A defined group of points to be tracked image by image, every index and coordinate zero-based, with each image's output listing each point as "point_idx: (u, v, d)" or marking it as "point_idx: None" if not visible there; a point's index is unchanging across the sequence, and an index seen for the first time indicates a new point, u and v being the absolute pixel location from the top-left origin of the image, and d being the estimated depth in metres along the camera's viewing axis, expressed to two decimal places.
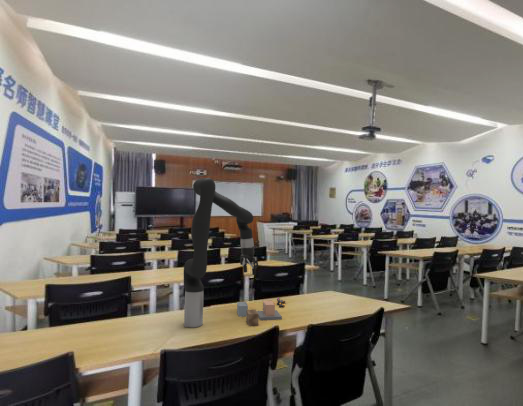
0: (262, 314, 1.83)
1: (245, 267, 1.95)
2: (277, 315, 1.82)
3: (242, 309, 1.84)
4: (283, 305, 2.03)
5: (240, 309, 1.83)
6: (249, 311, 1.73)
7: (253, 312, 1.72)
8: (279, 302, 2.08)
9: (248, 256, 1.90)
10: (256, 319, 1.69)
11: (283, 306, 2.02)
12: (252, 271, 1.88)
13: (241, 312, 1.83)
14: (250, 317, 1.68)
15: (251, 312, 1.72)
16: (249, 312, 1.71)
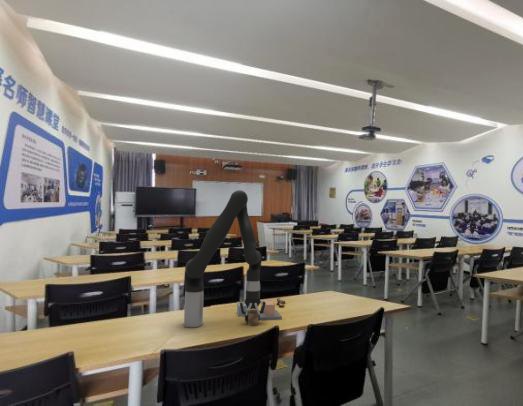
0: (262, 314, 1.83)
1: None
2: (277, 315, 1.82)
3: None
4: (283, 305, 2.03)
5: (240, 309, 1.83)
6: (249, 311, 1.73)
7: (253, 312, 1.72)
8: (279, 302, 2.08)
9: None
10: (256, 319, 1.69)
11: (283, 306, 2.02)
12: None
13: (241, 312, 1.83)
14: (250, 317, 1.68)
15: (251, 312, 1.72)
16: (249, 312, 1.71)
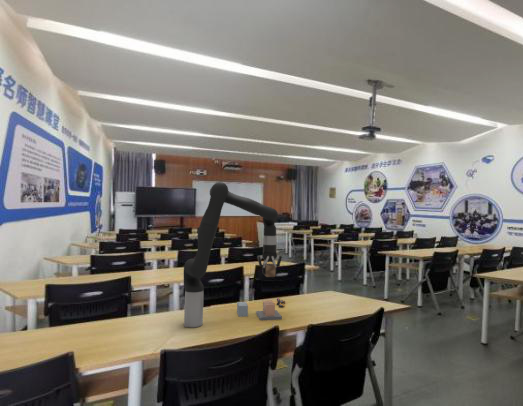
0: (262, 314, 1.83)
1: None
2: (277, 315, 1.82)
3: (242, 309, 1.84)
4: (283, 305, 2.03)
5: (240, 309, 1.83)
6: (266, 264, 1.85)
7: (270, 265, 1.84)
8: (279, 302, 2.08)
9: None
10: (273, 270, 1.82)
11: (283, 306, 2.02)
12: None
13: (241, 312, 1.83)
14: (268, 268, 1.81)
15: (268, 265, 1.84)
16: (266, 265, 1.84)
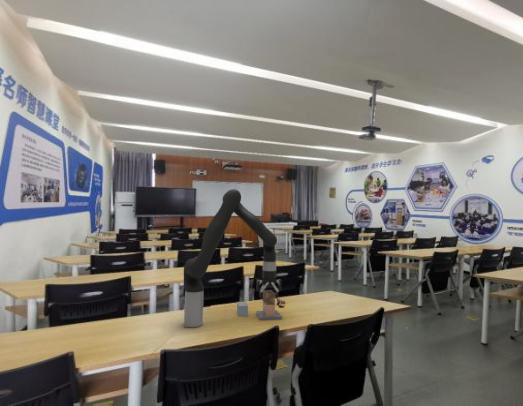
0: (262, 314, 1.83)
1: (275, 293, 1.86)
2: (277, 315, 1.82)
3: (242, 309, 1.84)
4: (283, 305, 2.02)
5: (240, 309, 1.83)
6: (266, 291, 1.85)
7: (270, 292, 1.84)
8: (279, 302, 2.08)
9: None
10: (273, 298, 1.81)
11: (283, 306, 2.02)
12: None
13: (241, 312, 1.83)
14: (267, 296, 1.81)
15: (268, 292, 1.84)
16: (266, 292, 1.84)
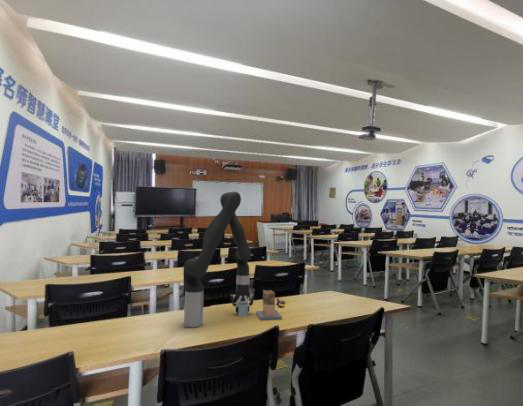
0: (262, 314, 1.83)
1: None
2: (277, 315, 1.82)
3: (242, 309, 1.84)
4: (282, 305, 2.02)
5: (240, 309, 1.83)
6: (266, 291, 1.85)
7: (270, 292, 1.84)
8: (279, 302, 2.08)
9: None
10: (273, 298, 1.81)
11: (282, 306, 2.02)
12: None
13: (241, 312, 1.83)
14: (267, 296, 1.81)
15: (268, 292, 1.84)
16: (266, 292, 1.84)
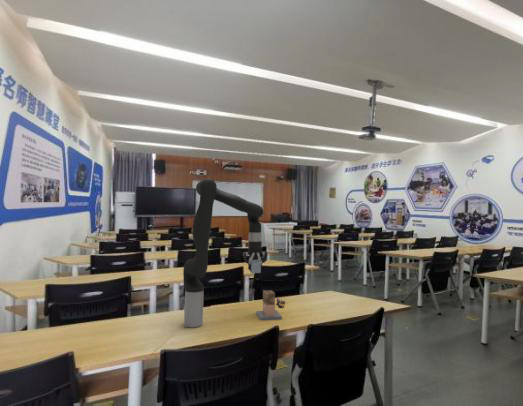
0: (262, 314, 1.83)
1: None
2: (277, 315, 1.82)
3: (255, 265, 1.84)
4: (282, 305, 2.02)
5: (253, 265, 1.83)
6: (266, 291, 1.85)
7: (270, 292, 1.84)
8: (279, 302, 2.08)
9: None
10: (273, 298, 1.81)
11: (282, 306, 2.02)
12: None
13: (254, 269, 1.83)
14: (267, 296, 1.81)
15: (268, 292, 1.84)
16: (266, 292, 1.84)
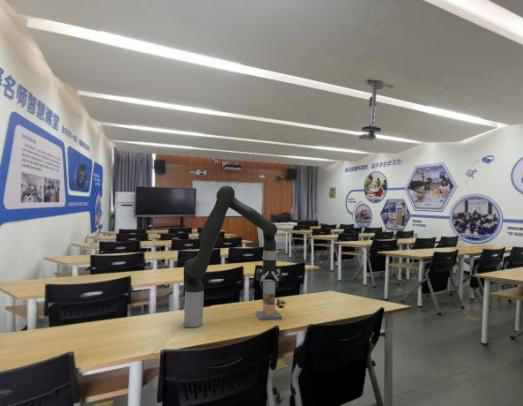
0: (262, 314, 1.83)
1: (276, 282, 1.86)
2: (277, 315, 1.82)
3: (269, 286, 1.81)
4: (282, 305, 2.02)
5: (267, 286, 1.81)
6: None
7: None
8: (279, 302, 2.07)
9: None
10: (273, 298, 1.81)
11: (282, 306, 2.02)
12: None
13: (268, 289, 1.81)
14: (267, 296, 1.81)
15: None
16: None
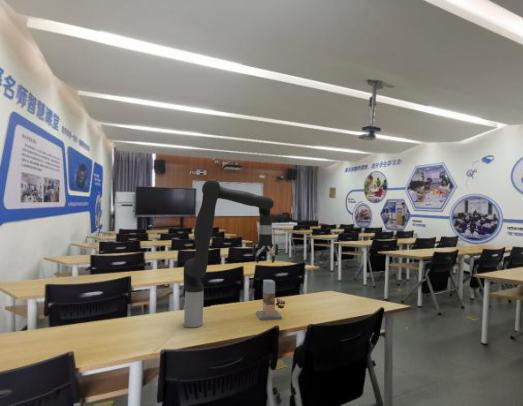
0: (262, 314, 1.83)
1: (272, 257, 1.84)
2: (277, 315, 1.82)
3: (269, 286, 1.81)
4: (282, 305, 2.02)
5: (267, 286, 1.81)
6: None
7: None
8: (278, 302, 2.07)
9: None
10: (273, 298, 1.81)
11: (282, 306, 2.02)
12: None
13: (268, 289, 1.81)
14: (267, 296, 1.81)
15: None
16: None
